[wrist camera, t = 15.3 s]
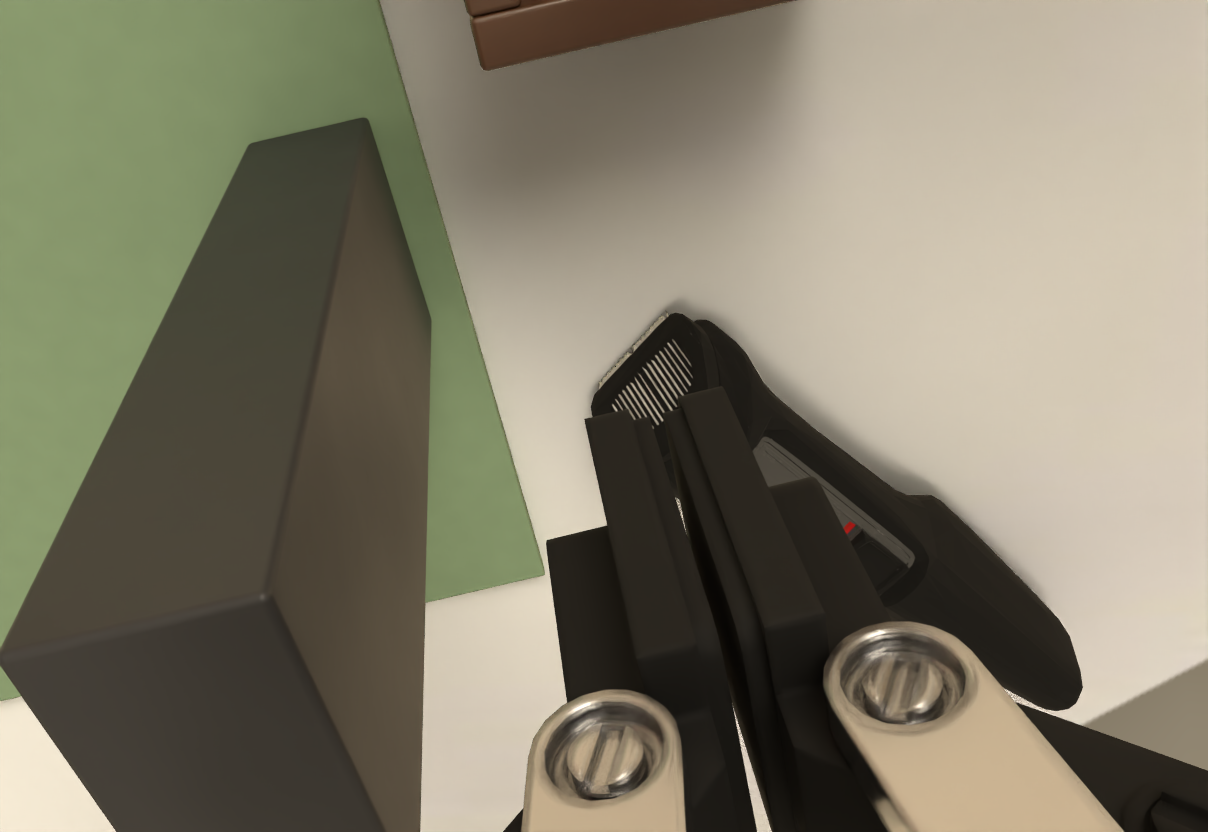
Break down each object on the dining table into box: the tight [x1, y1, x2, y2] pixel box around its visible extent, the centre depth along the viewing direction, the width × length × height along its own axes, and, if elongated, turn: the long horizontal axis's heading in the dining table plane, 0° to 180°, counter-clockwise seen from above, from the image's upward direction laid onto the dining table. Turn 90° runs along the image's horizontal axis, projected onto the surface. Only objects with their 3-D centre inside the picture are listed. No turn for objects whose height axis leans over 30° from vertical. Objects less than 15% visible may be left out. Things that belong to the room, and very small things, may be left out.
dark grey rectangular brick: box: [0, 117, 432, 832], centre depth 16 cm, size 5×3×14 cm, turn 11°
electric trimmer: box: [591, 311, 1083, 711], centre depth 27 cm, size 4×16×3 cm, turn 49°
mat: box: [0, 0, 545, 701], centre depth 22 cm, size 20×18×1 cm
